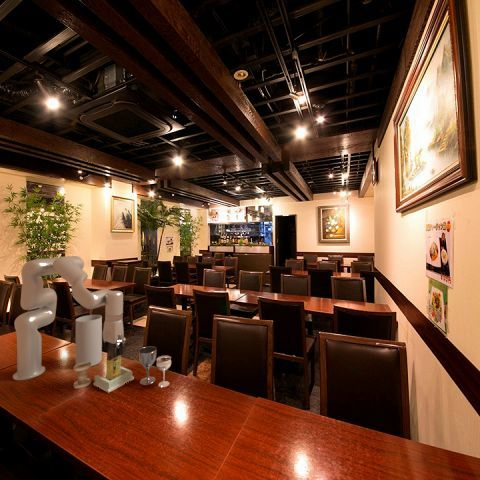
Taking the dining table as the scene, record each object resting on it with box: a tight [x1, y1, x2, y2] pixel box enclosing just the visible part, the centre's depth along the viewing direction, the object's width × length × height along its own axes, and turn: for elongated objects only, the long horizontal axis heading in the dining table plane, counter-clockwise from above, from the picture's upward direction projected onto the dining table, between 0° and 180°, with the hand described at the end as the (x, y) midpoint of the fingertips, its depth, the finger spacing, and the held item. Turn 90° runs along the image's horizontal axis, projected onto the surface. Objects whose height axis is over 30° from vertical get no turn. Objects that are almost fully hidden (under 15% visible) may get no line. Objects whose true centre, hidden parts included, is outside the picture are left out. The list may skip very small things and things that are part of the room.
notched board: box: [93, 366, 135, 394], centre depth 121 cm, size 12×13×4 cm
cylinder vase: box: [75, 314, 103, 368], centre depth 140 cm, size 12×12×25 cm
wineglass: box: [155, 355, 172, 388], centre depth 119 cm, size 7×7×12 cm
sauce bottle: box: [105, 340, 122, 381], centre depth 121 cm, size 6×6×20 cm
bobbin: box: [73, 362, 92, 389], centre depth 119 cm, size 7×7×9 cm
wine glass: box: [138, 345, 157, 386], centre depth 122 cm, size 8×8×15 cm
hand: (113, 352), depth 121 cm, fingers open, 9 cm apart
